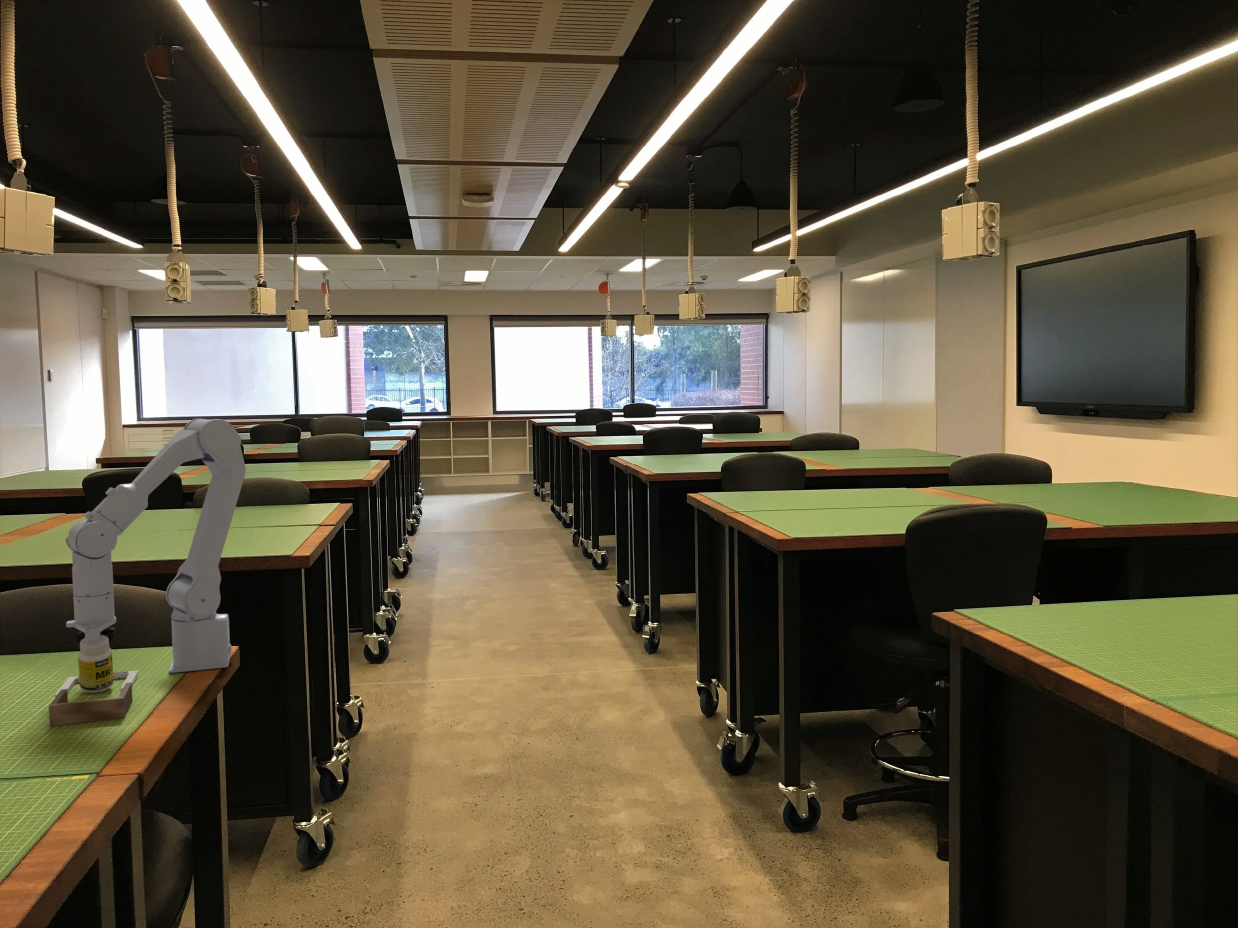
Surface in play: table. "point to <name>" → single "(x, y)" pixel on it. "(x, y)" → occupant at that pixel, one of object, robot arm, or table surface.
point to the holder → (89, 708)
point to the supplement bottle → (95, 665)
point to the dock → (128, 675)
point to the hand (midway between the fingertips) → (97, 673)
